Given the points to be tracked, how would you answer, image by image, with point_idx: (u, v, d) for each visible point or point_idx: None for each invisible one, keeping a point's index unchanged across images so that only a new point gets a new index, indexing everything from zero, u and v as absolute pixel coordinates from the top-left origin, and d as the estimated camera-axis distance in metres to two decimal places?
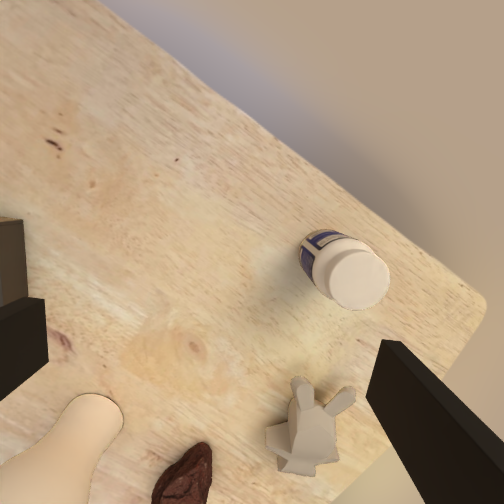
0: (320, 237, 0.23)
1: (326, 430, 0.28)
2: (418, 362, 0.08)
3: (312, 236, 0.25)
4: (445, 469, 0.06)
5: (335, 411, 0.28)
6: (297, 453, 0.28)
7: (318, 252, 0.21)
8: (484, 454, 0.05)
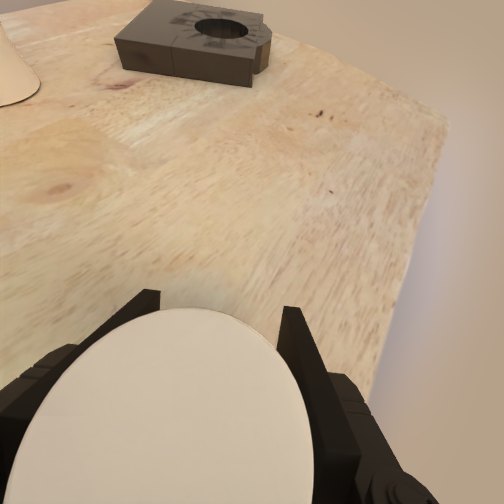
0: None
1: None
2: (302, 320, 0.10)
3: None
4: None
5: None
6: None
7: None
8: None
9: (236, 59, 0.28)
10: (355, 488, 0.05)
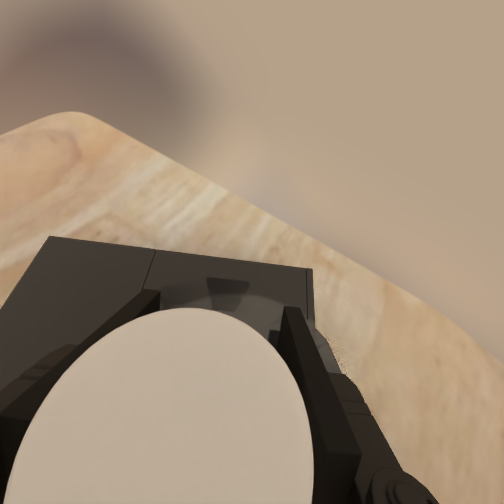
0: None
1: None
2: (302, 320, 0.10)
3: None
4: None
5: None
6: None
7: None
8: None
9: None
10: (355, 488, 0.05)
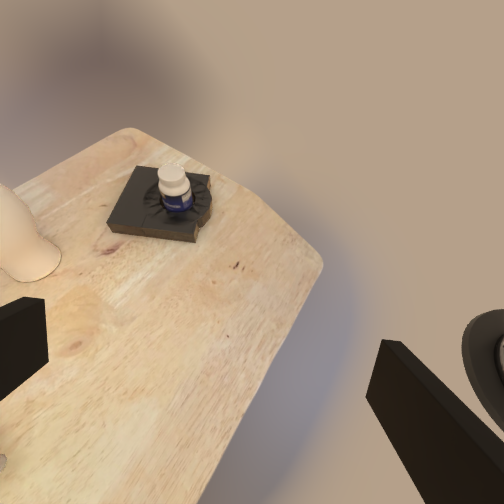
0: None
1: None
2: (418, 362, 0.08)
3: None
4: (445, 469, 0.06)
5: None
6: None
7: None
8: (484, 454, 0.05)
9: (183, 233, 0.45)
10: None
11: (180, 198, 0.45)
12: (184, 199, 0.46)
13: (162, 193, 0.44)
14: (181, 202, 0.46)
